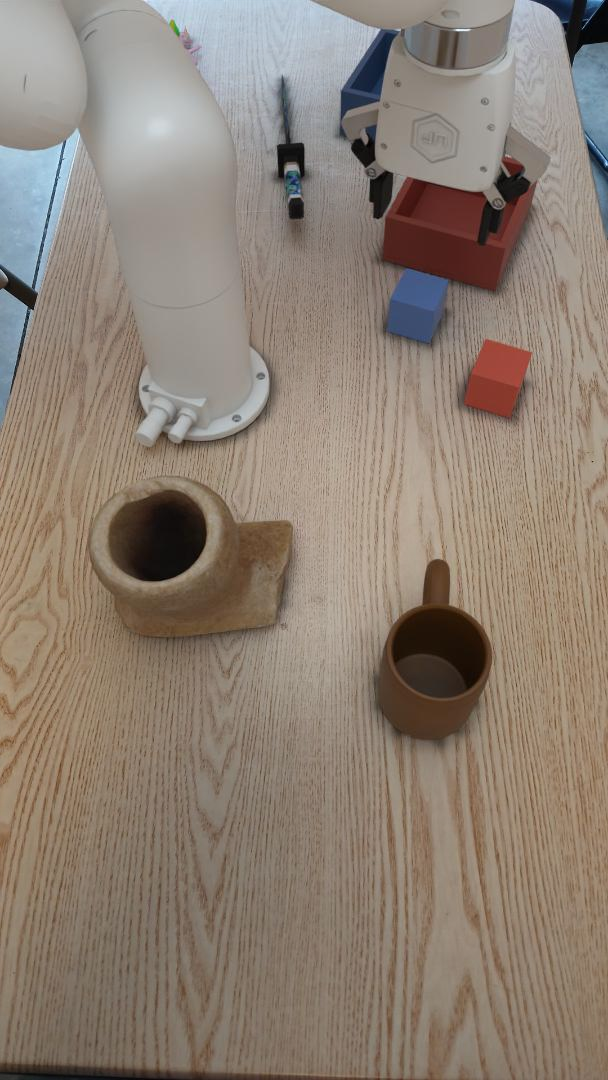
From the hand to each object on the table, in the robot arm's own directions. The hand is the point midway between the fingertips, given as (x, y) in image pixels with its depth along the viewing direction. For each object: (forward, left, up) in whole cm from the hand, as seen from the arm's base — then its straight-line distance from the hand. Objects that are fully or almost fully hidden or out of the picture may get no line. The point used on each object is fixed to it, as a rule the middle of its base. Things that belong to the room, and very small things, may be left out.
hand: (433, 222), depth 74 cm
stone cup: (-36, +6, -12) cm, 39 cm away
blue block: (0, 0, -12) cm, 12 cm away
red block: (-6, -10, -12) cm, 17 cm away
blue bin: (+32, +12, -12) cm, 36 cm away
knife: (+19, +22, -12) cm, 32 cm away
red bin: (+14, 0, -12) cm, 18 cm away
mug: (-35, -13, -12) cm, 40 cm away
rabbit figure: (+29, +42, -12) cm, 53 cm away
